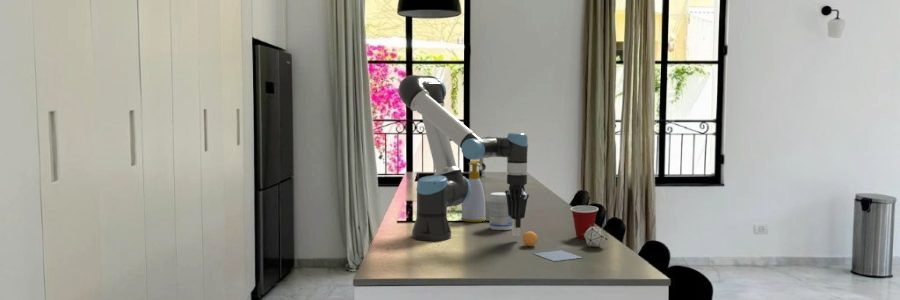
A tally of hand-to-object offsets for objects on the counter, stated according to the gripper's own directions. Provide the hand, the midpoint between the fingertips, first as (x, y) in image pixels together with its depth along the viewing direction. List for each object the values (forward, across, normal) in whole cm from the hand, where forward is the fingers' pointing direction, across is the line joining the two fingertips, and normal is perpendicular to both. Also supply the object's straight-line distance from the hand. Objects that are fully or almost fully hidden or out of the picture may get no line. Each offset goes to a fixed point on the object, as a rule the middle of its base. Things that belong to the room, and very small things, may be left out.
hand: (516, 235), depth 257 cm
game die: (+3, -20, -21) cm, 29 cm away
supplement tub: (+2, +24, -8) cm, 25 cm away
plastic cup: (+3, -5, -28) cm, 29 cm away
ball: (-1, -9, 0) cm, 9 cm away
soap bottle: (+2, +45, -7) cm, 45 cm away
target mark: (+2, -26, 0) cm, 27 cm away
